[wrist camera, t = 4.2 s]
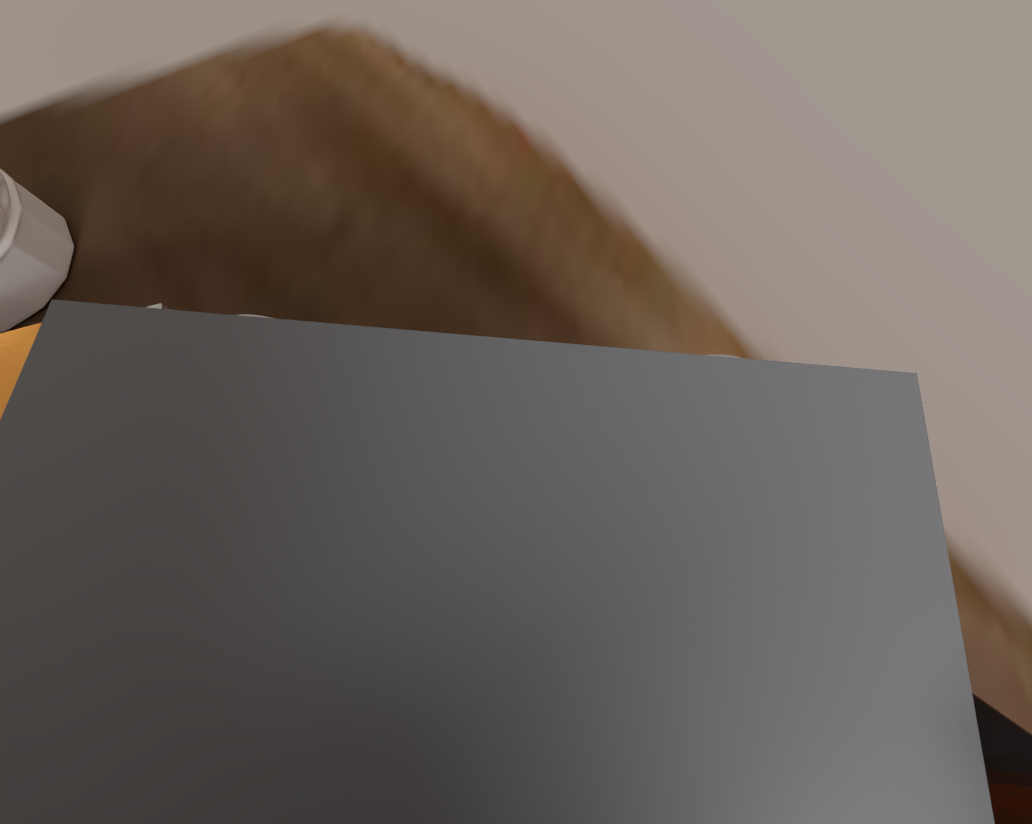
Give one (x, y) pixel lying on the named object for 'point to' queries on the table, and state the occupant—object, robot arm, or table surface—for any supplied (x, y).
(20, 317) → the white cup
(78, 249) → the table surface
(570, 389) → the grey rectangular block
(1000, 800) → the robot arm
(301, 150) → the table surface
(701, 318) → the table surface
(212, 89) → the table surface
